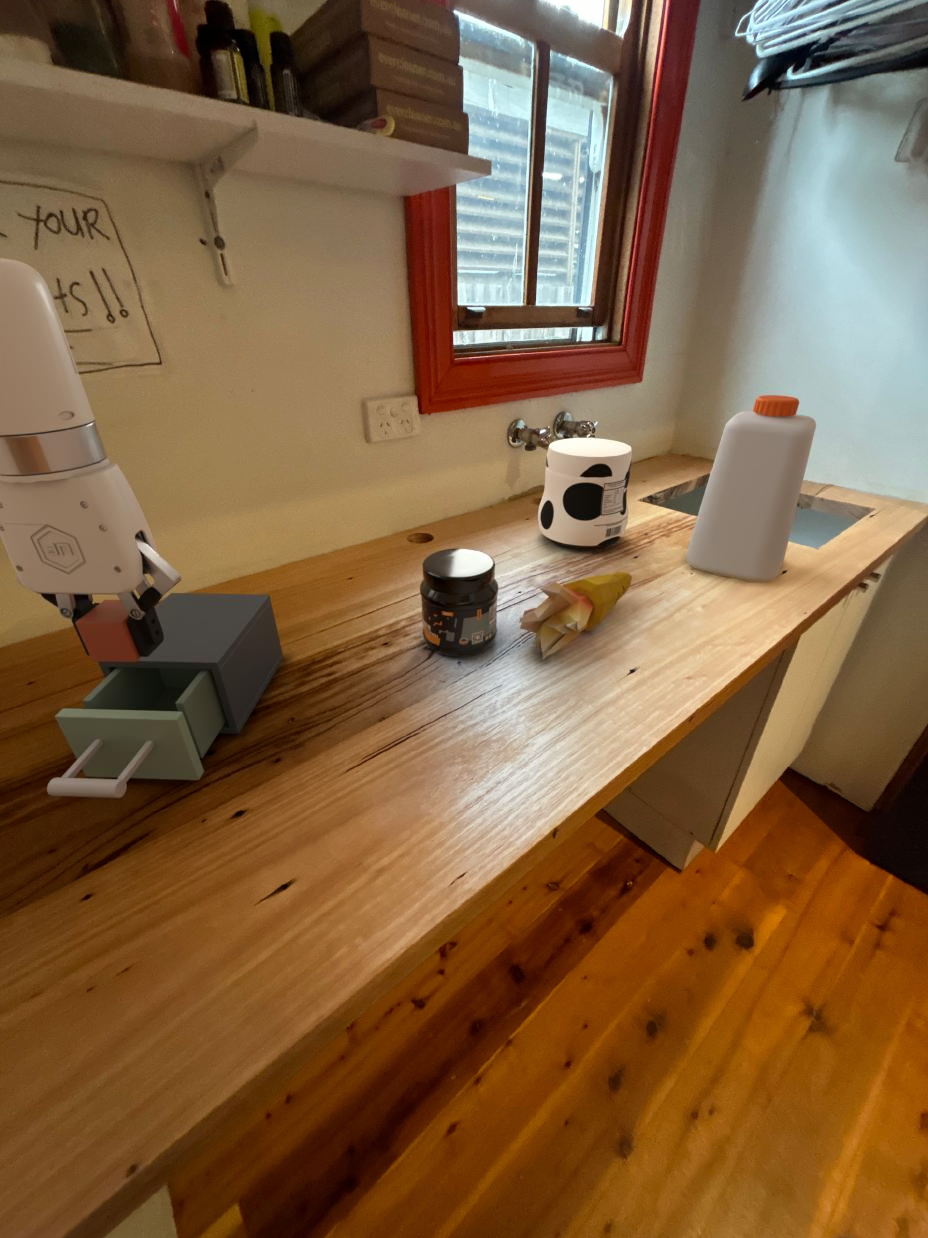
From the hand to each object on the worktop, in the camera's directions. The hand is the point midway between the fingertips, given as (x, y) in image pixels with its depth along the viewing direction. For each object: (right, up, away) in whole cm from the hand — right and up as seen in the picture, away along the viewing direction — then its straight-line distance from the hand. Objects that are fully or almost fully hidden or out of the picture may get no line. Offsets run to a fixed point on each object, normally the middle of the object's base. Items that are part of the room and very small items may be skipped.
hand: (126, 646), depth 50 cm
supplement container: (+31, 0, +26) cm, 41 cm away
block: (0, 0, 0) cm, 0 cm away
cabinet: (+1, -6, +16) cm, 17 cm away
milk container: (+55, +19, +57) cm, 82 cm away
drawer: (0, -11, +6) cm, 13 cm away
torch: (+49, +1, +28) cm, 57 cm away
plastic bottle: (+81, +13, +47) cm, 94 cm away
